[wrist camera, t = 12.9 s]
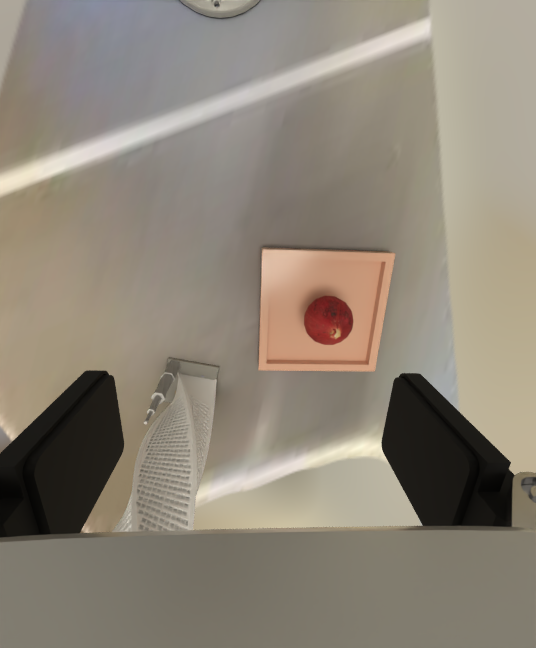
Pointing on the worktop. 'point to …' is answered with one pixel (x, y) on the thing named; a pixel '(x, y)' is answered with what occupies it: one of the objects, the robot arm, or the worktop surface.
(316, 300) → the red round fruit
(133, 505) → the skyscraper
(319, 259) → the dish
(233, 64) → the worktop surface
